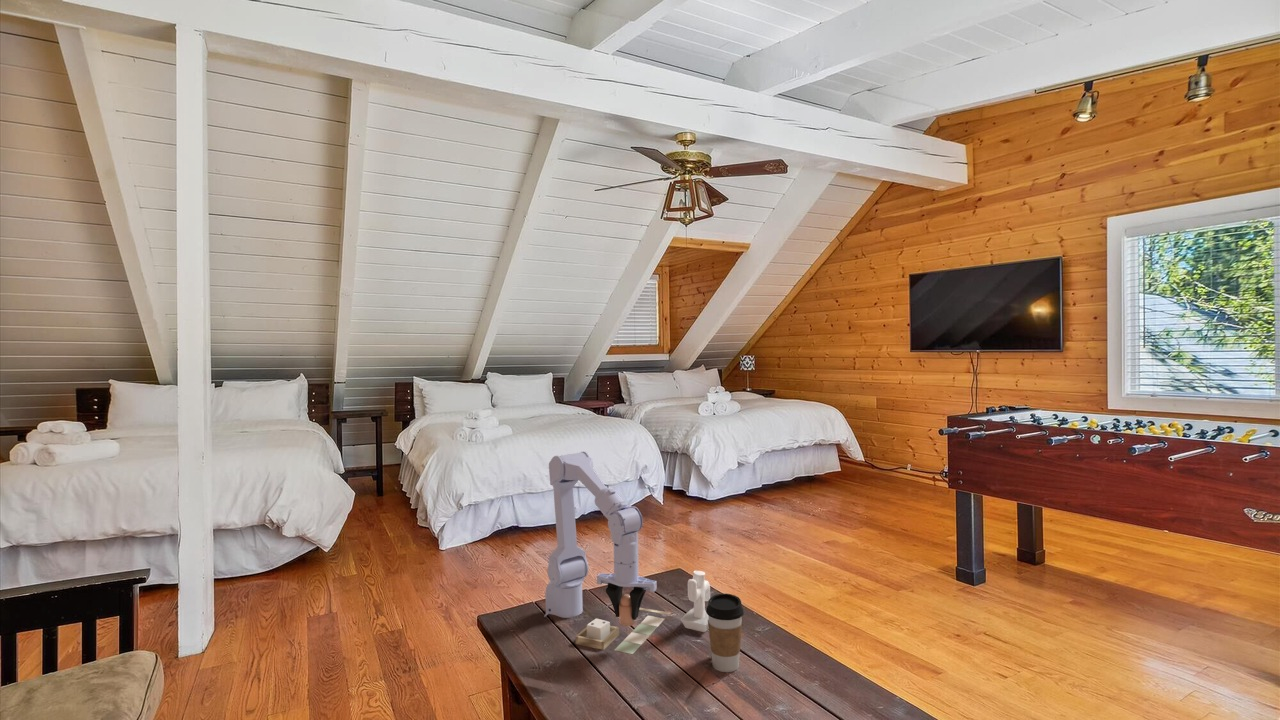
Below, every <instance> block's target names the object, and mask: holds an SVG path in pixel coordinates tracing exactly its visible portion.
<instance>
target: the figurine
mask: <svg viewBox="0 0 1280 720" xmlns="http://www.w3.org/2000/svg"><path fill="white" fill-rule="evenodd" d="M687 597H688V599H689V601H690V602H693V607H692V608H691V609H689V610H688V611H687V612H686V613H685V614H684V615H682V617H680V621H681V623H682V624H683V627H684V628H685V629H690V630H692V631H696V632H702V633H706V632H707V631H709V628H708V615H707V613H706V608H705V607H706V605H705V604H706V603H705V602H709V599H710V598H711V585H710V582H709V581H708V580H707V579H706V572H705V571H701V570H694V571H693V572H692V578H689V579H688V581H687Z"/></svg>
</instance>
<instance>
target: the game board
mask: <svg viewBox="0 0 1280 720" xmlns="http://www.w3.org/2000/svg"><path fill="white" fill-rule="evenodd" d="M639 611H646V612H652V613H657V614H663V615H668V616H670V615H671V614H672V612H668V611H662V610H656V609H652V608H651V609H649V608H644V607H640V608H639ZM664 621H665V618H662V617H657V616H653V615H647V616H646V617H645V618H644V619H643V620H642V621H641V622H640V623H639V624H638V625H637V626H636V627H635V628H634V629H633V630H632V631H631V632H630V633H629V634H628V635H627V636H626V637H625V638H624V639H623V640H622V641H621V643H619V644H618V645H617V647H616V648H614V652H615V651H616V652H620V653H624V654H629V655H634V653H635V652H636V651H637V650H638V649H639V648H640V647H641V646H642V645H643V644H644V643H645V641H647V640H648V638H649V637H650V636H651V635H652V633H654V632H655V630H656V629H657V628H658V627H660V625H661V624H662V623H663V622H664ZM619 636H620V627H618V626H614V625H610V634H609V635H608V636H607V637H606V638H605V639H604V640H603V641H602V640H597V639H592V638H587V626H586V627H584V629H582V630H581V631H580V632H579V633H578V634H576V635H575V644H576V645H579V646H583V647H588V648H593V649H596V650H597V649H598V650H603V651H604V650H606V649H607V648H608V647H609V645H611V644H612V643H613V641H615V640H616V638H618V637H619Z"/></svg>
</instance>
